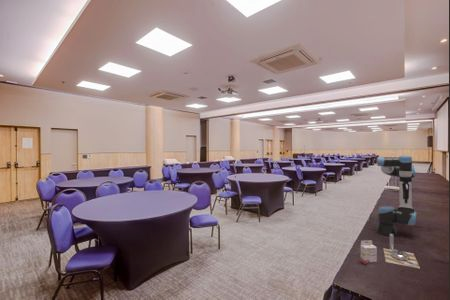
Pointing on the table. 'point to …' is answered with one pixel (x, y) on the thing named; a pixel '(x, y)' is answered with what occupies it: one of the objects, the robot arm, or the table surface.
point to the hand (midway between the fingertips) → (405, 207)
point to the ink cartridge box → (368, 252)
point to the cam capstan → (396, 253)
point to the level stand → (402, 262)
